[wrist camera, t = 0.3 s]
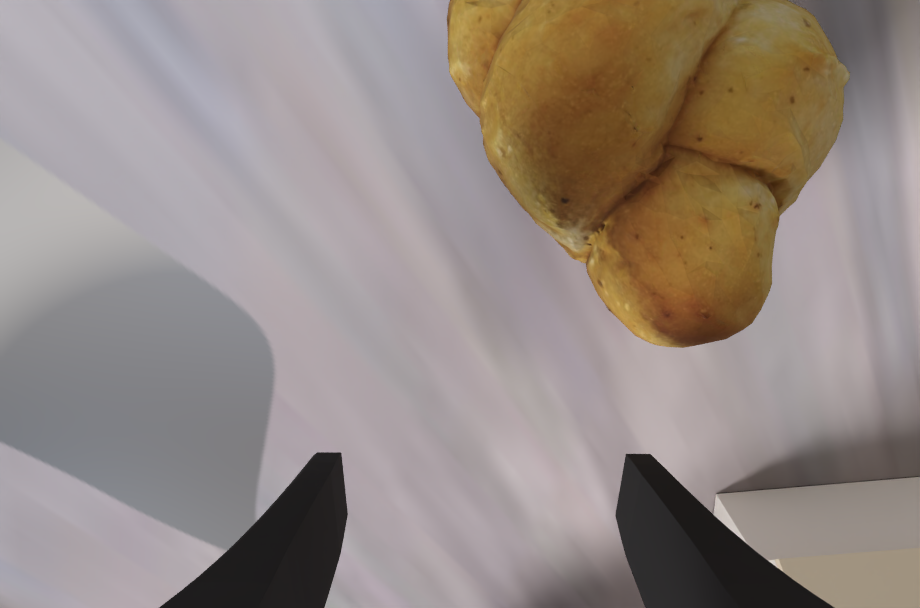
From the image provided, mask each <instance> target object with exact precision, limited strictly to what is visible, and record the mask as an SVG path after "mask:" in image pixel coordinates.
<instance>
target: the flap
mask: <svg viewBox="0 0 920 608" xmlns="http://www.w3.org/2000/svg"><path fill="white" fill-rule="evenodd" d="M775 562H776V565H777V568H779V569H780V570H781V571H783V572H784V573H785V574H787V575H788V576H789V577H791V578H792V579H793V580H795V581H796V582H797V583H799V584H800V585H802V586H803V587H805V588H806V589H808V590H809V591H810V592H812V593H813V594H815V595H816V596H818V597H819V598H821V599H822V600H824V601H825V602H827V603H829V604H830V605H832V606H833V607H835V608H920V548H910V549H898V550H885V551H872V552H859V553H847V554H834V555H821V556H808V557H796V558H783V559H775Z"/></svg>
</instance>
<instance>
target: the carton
mask: <svg viewBox="0 0 920 608" xmlns="http://www.w3.org/2000/svg"><path fill="white" fill-rule="evenodd" d="M714 516H715V517H716V518H718V519H719V520H720V521H721V522H722V523H723V524H724V525H725V526H727V527H728V528H729V529H730V530H731V531H732V532H734V533H735V534H736V535H737V536H738V537H740V538H741V539H742V540H743V541H744V542H745V543H747V544H748V545H749V546H750V547H751V548H753V549H754V550H755V551H756V552H758V553H759V554H760V555H761V556H763V557H764V558H765V559H766V560H768V561H769V562H770V563H772V564H773V565H774V566H776V567H777V565H776V562H775V559H783V558H796V557H808V556H821V555H834V554H847V553H859V552H872V551H885V550H898V549H910V548H920V477H913V478H901V479H889V480H877V481H866V482H854V483H842V484H830V485H818V486H806V487H794V488H782V489H770V490H758V491H746V492H734V493H722V494H716V498H715V507H714Z"/></svg>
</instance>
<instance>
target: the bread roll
mask: <svg viewBox="0 0 920 608" xmlns="http://www.w3.org/2000/svg"><path fill="white" fill-rule="evenodd" d="M447 27H448V60H449V72H450V74H451V77H452V78H453V80H454V82H455V84H456V85H457V87H458V89H459V91H460V92H461V94H462V96H463V98H464V100H465V102H466V103H467V104H468V106H469V107H470V108H471V109H472V110H473V111H474V112H475V114H476V115H477V116H478V117H479V118H480V125H481V129H482V131H481V132H482V134H483V145H484V148H485V151H486V154H487V158H488V160H489V162H490V164H491V165H492V167H493V168H494V169H495V170H496V172H497V174H498V176H499V178H500V179H501V181H502V182H503V183H504V185H505V186H506V187H507V188H508V190H509V191H510V193H511V194H512V195H513V196H514V198H515V199H516V200H517V201H518V203H519V204H520V205H521V206H522V208H523V209H524V210H525V211H527V212H528V213H529V214H530V216H531V217H532V218H533V220H534V221H535V223H536V224H538V225H539V226H540V227H541V228H542V229H544V230H545V231H546V232H547V233H548V234H550V235H551V236H552V237H553V238H554V239H555V240H556V241H557V242H558V243H559V244H560V245H561V246H562V247H563V248H564V249H565V251H566V252H567V253H568V254H569V256H570V257H571V258H573V259H575V260H579V261H580V262H582V263H586V267H587V273H588V275H589V277H590V279H591V281H592V283H593V285H594V288H595V290H596V292H597V293H598V295H599V296H600V298H601V299H602V300H603V302H604V303H605V305H606V306H607V308H608V309H609V311H611V312H612V313H613V314H614V315H615V316H616V317H617V318H618V319H619V320H620V321H621V322H622V323H623V324H624V325H625V326H626V327H627V328H628V329H629V330H630V331H631V332H632V333H633V334H634V335H635V336H637V337H639V338H641V339H643V340H645V341H647V342H649V343H652V344H655V345H659V346H666V347H681V348H684V347H690V346H695V345H700V344H705V343H710V342H714V341H719V340H724V339H727V338H728V337H730V336H732V335H734V334H736V333H738V332H740V331H741V330H743V329H745V328H746V327H747V326H749V325H750V324H752V322H753V321H754V319H755V318H756V316H757V315H758V313H759V312H760V310H761V308H762V306H763V304H764V302H765V300H766V298H767V296H768V293H769V291H770V288H771V285H772V257H773V248H774V241H775V234H776V230H777V228H778V223H779V216H780V215H781V214H782V213H783V212H784V211H785V210H786V209H787V208H788V207H789V206H790V205H792V204H793V203H794V202H795V201H796V200H797V197H798V195H799V193H800V191H801V190H802V188H803V187H804V185H805V184H806V182H807V181H808V180H809V179H810V178H811V177H812V175H813V174H814V173H815V172H816V171H817V170H818V169H819V168H820V166H821V164H822V163H823V161H824V159H825V158H826V156H827V154H828V153H829V151H830V149H831V148H832V146H833V144H834V142H835V141H836V138H837V135H838V132H839V130H840V127H841V124H842V121H843V104H844V86H845V85H846V83H847V82H848V80H849V77H850V72H848V71H847V69H846V66H844V65H843V64H842V63H841V62H839V61H838V59H837V56H836V54H835V52H834V49H833V47H832V45H831V43H830V42H829V40H828V38H827V36H826V35H825V33H824V31H823V30H822V28H821V26H820V25H819V23H818V21H817V20H816V18H815V16H813V15H812V14H811V13H810V12H808V11H807V10H806V9H804V8H802V7H799V6H797V5H795V4H793V3H792V2H790V1H788V0H450V3H449V8H448V16H447Z"/></svg>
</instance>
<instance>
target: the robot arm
mask: <svg viewBox="0 0 920 608" xmlns="http://www.w3.org/2000/svg"><path fill="white" fill-rule="evenodd" d="M347 515H348V513H347V504H346V494H345V485H344V475H343V465H342V456H341V453H316V454H315V455H314V456H313V457H312V458H311V459H310V461H309V462H308V463H307V464H306V465H305V467H304V468H303V469H302V470H301V472H300V473H299V474H298V475H297V476H296V478H295V479H294V480H293V481H292V482H291V484H290V485H289V486H288V487H287V488H286V489H285V491H284V492H283V493H282V494H281V495H280V496H279V497H278V499H277V500H276V501H275V502H274V503H273V504H272V505H271V506H270V508H269V509H268V510H267V511H266V512H265V513H264V514H263V515H262V516H261V517H260V519H259V520H258V521H257V522H256V523H255V524H254V525H253V526H252V527H251V528H250V529H249V530H248V531H247V532H246V533H245V534H244V535H243V536H242V537H241V538H240V539H239V540H238V541H237V542H236V543H235V544H234V545H233V546H232V547H231V548H230V549H229V550H228V551H227V552H226V553H224V554H223V555H222V556H221V557H220V558H219V559H218V560H217V561H216V562H215V563H214V564H212V565H211V566H210V567H209V568H208V569H207V570H206V571H204V572H203V573H202V574H201V575H200V576H199V577H197V578H196V579H195V580H194V581H193V582H191V583H190V584H189V585H188V586H186V587H185V588H184V589H183V590H182V591H180V592H179V593H178V594H176V595H175V596H174V597H173V598H171V599H170V600H169V601H167V602H166V603H165V604H163V605H162V606H161V607H160V608H324V607H325V604H326V601H327V597H328V594H329V591H330V587H331V584H332V581H333V577H334V574H335V571H336V567H337V564H338V561H339V557H340V553H341V548H342V543H343V538H344V532H345V526H346V520H347ZM616 519H617V523H618V528H619V532H620V536H621V540H622V543H623V547H624V551H625V555H626V558H627V560H628V563H629V566H630V568H631V571H632V574H633V576H634V579H635V581H636V584H637V587H638V589H639V592H640V594H641V597H642V600H643V602H644V605H645V607H646V608H835V607H833V606H832V605H830V604H829V603H827V602H825V601H824V600H822V599H821V598H819V597H818V596H816V595H815V594H813V593H812V592H810V591H809V590H808V589H806V588H805V587H803V586H802V585H800V584H799V583H797V582H796V581H795V580H793V579H792V578H791V577H789V576H788V575H787V574H785V573H784V572H783V571H781V570H780V569H779V568H777V567H776V566H774V565H773V564H772V563H770V562H769V561H768V560H766V559H765V558H764V557H763V556H761V555H760V554H759V553H758V552H756V551H755V550H754V549H753V548H751V547H750V546H749V545H748V544H747V543H745V542H744V541H743V540H742V539H741V538H740V537H738V536H737V535H736V534H735V533H734V532H732V531H731V530H730V529H729V528H728V527H727V526H725V525H724V524H723V523H722V522H721V521H720V520H719V519H718V518H716V517H715V516H714V515H713V514H712V513H711V512H710V511H709V510H708V509H707V508H706V507H704V506H703V505H702V504H701V503H700V502H699V501H698V500H697V499H696V498H695V497H694V496H693V495H692V494H691V493H690V492H689V491H688V490H687V489H686V488H684V487H683V486H682V485H681V484H680V483H679V482H678V481H677V480H676V479H675V478H674V477H673V476H672V475H671V474H670V473H669V472H668V471H667V470H666V469H665V468H664V467H663V466H662V465H661V464H660V463H659V462H658V461H657V460H656V459H655V458H654V457H653V456H652V455H651V454H626V457H625V463H624V469H623V475H622V481H621V486H620V492H619V498H618V504H617V510H616Z"/></svg>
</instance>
